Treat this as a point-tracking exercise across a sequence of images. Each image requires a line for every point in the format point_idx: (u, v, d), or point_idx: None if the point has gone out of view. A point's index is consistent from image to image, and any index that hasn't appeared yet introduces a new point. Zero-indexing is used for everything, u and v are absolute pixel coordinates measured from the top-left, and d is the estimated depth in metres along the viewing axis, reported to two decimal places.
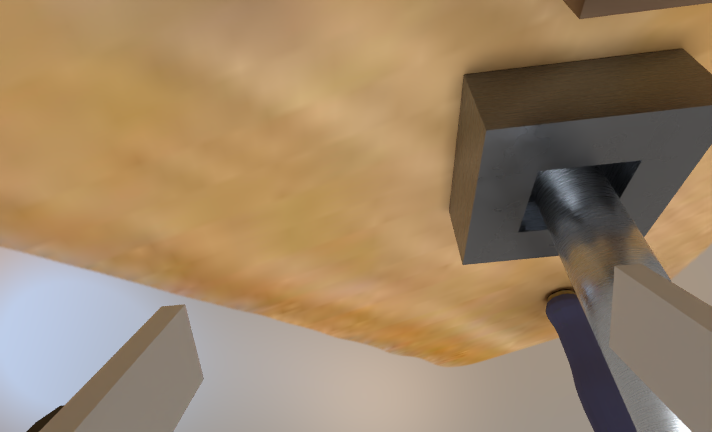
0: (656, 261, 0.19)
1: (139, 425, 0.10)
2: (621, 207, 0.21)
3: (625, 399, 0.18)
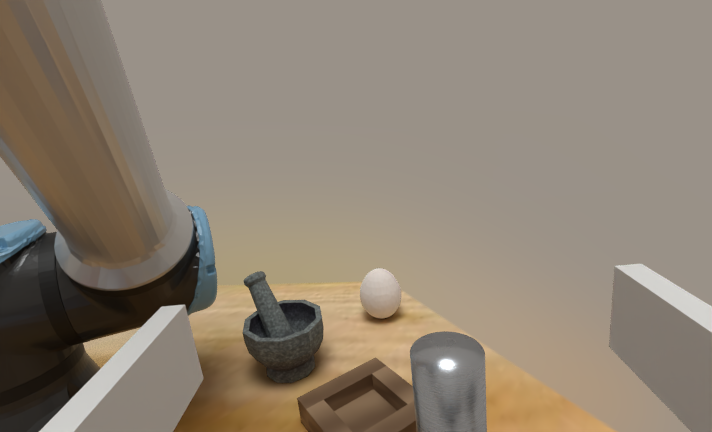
0: None
1: (139, 425, 0.10)
2: None
3: (426, 402, 0.22)
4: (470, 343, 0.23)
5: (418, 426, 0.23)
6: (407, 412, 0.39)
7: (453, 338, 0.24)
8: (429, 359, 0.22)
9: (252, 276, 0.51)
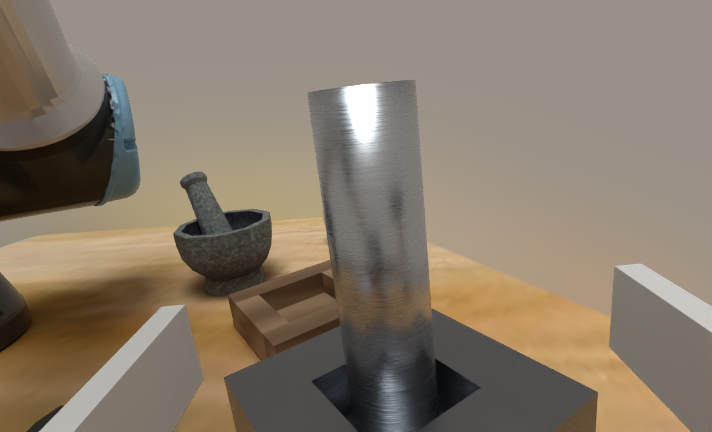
0: None
1: (139, 425, 0.10)
2: None
3: (326, 149, 0.14)
4: None
5: (324, 208, 0.16)
6: None
7: None
8: None
9: (189, 175, 0.44)
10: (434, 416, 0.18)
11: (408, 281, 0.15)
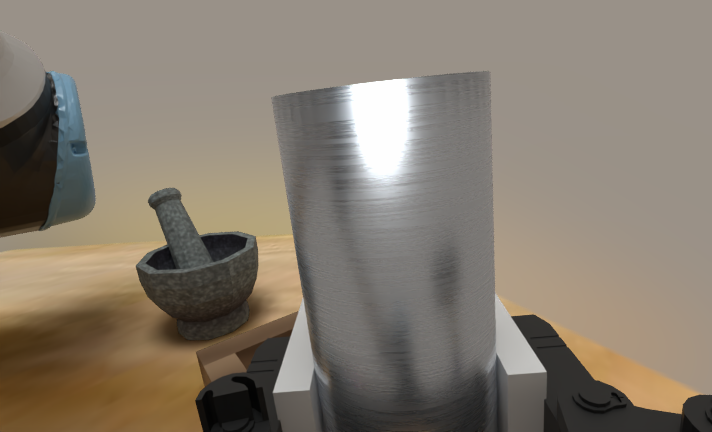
0: None
1: None
2: None
3: (307, 215, 0.07)
4: None
5: (306, 315, 0.08)
6: None
7: None
8: None
9: (158, 192, 0.36)
10: None
11: None
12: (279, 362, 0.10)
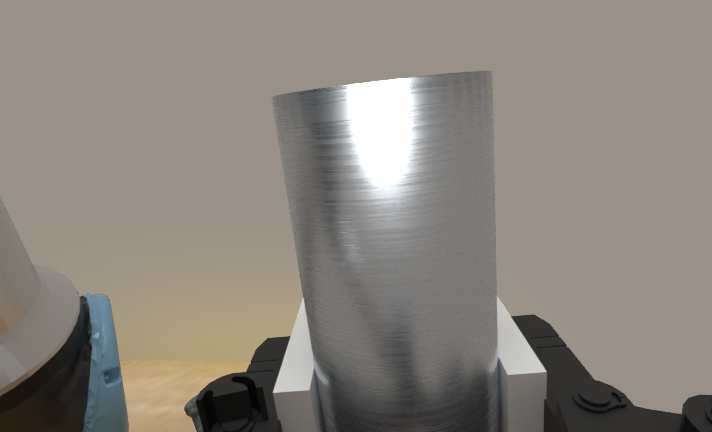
0: None
1: None
2: None
3: (308, 215, 0.07)
4: None
5: (307, 316, 0.08)
6: None
7: None
8: None
9: None
10: None
11: None
12: (279, 362, 0.10)
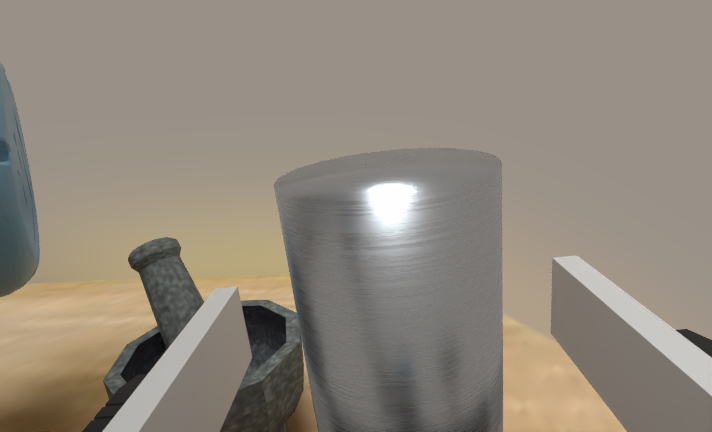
0: None
1: (209, 393, 0.11)
2: None
3: (313, 312, 0.07)
4: (457, 154, 0.08)
5: (311, 393, 0.08)
6: None
7: (410, 154, 0.09)
8: (328, 180, 0.07)
9: (144, 246, 0.23)
10: None
11: None
12: None
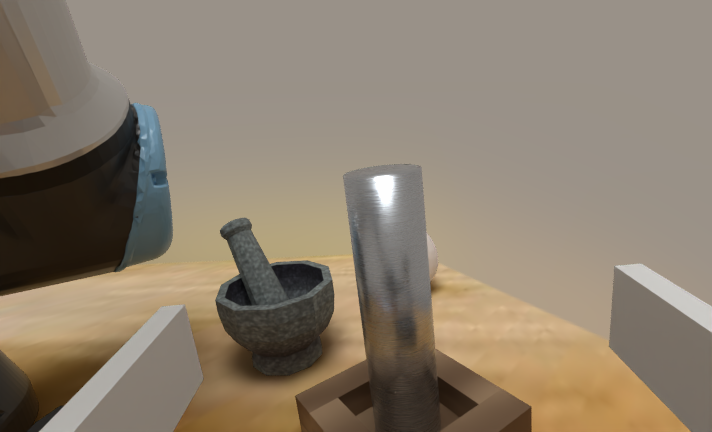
0: None
1: (139, 425, 0.10)
2: None
3: (357, 219, 0.20)
4: (409, 166, 0.21)
5: (354, 257, 0.22)
6: (481, 417, 0.23)
7: (392, 166, 0.22)
8: (362, 175, 0.21)
9: (231, 223, 0.36)
10: (436, 412, 0.23)
11: (416, 312, 0.21)
12: None
